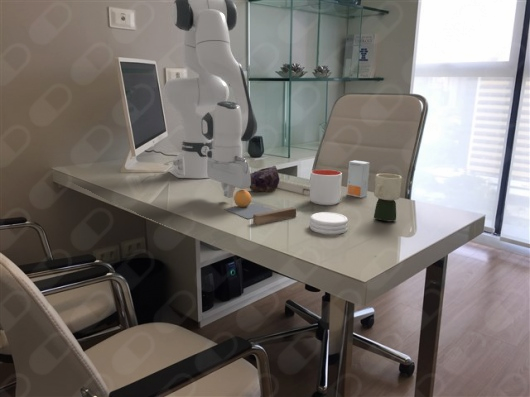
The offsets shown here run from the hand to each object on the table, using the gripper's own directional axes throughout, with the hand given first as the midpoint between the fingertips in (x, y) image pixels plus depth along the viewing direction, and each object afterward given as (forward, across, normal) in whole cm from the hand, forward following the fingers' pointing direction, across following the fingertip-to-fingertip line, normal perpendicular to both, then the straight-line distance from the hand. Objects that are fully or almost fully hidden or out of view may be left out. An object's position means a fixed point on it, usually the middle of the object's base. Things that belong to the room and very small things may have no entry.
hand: (228, 196), depth 142 cm
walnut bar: (+2, -24, 0) cm, 24 cm away
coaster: (+2, -38, -7) cm, 39 cm away
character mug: (+2, -42, -26) cm, 49 cm away
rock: (+2, +5, -20) cm, 21 cm away
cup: (+2, -18, -26) cm, 32 cm away
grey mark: (+2, -13, 0) cm, 13 cm away
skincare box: (+2, -18, -42) cm, 46 cm away
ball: (-1, -8, 0) cm, 8 cm away
